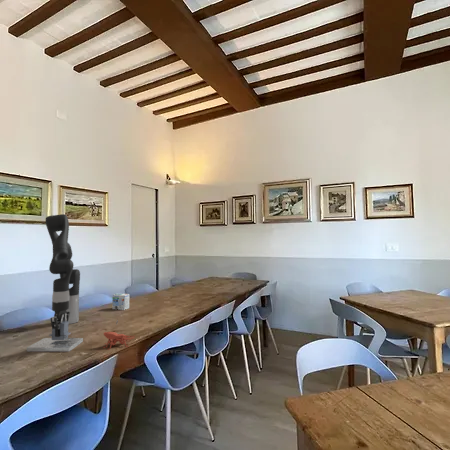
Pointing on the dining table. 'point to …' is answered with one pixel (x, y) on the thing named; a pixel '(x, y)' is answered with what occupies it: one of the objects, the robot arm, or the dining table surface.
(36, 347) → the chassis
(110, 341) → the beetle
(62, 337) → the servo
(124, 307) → the light bulb box
